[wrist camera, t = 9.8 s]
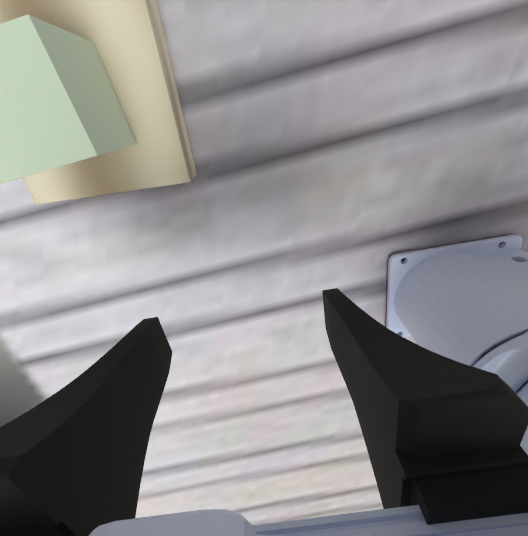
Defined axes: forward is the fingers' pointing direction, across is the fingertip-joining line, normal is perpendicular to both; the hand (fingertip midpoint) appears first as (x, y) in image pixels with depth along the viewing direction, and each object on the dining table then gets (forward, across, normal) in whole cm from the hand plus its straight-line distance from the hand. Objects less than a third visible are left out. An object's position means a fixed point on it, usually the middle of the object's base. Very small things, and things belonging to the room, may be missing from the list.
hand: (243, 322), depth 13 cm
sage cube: (+7, +7, -9) cm, 14 cm away
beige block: (+10, +7, -10) cm, 15 cm away
